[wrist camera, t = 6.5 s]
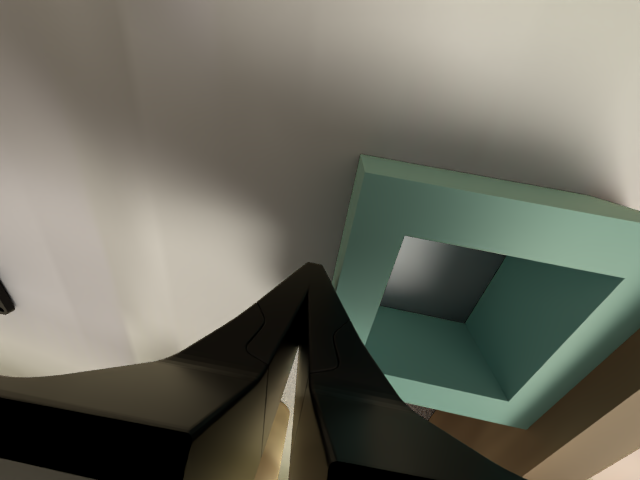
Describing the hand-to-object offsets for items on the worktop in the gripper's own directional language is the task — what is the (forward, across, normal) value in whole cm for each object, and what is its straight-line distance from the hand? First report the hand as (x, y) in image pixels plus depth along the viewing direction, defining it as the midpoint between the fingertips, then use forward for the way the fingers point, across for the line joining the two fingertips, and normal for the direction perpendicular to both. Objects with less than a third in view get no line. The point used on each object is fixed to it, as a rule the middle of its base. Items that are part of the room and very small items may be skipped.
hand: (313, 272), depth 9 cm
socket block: (+2, -6, 0) cm, 6 cm away
